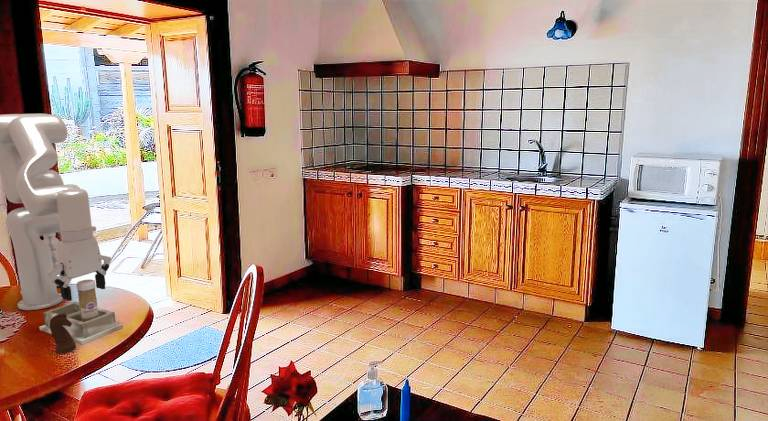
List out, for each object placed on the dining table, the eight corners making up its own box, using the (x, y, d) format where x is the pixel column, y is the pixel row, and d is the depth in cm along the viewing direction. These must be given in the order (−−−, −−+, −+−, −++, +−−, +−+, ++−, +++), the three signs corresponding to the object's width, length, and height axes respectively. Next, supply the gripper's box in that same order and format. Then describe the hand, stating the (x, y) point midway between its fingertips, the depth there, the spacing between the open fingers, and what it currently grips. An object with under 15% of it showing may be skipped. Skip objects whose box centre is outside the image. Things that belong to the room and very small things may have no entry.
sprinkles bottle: (88, 331, 149) (82, 285, 146) (78, 328, 151) (72, 282, 148) (103, 325, 153) (98, 280, 150) (93, 322, 155) (88, 277, 152)
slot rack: (39, 330, 154) (37, 313, 153) (80, 315, 164) (78, 299, 163) (82, 344, 144) (79, 327, 143) (122, 327, 154) (120, 311, 153)
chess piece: (75, 351, 140) (70, 315, 138) (52, 355, 138) (47, 319, 136) (76, 344, 144) (71, 309, 142) (54, 348, 142) (49, 312, 140)
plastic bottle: (58, 289, 186) (50, 233, 182) (41, 288, 188) (32, 232, 184) (72, 283, 193) (64, 229, 188) (56, 282, 194) (48, 228, 190)
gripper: (98, 225, 155) (105, 282, 159) (36, 240, 141) (45, 301, 144) (115, 229, 152) (121, 286, 156) (52, 244, 137) (61, 307, 141)
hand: (84, 293), depth 150 cm, fingers open, 9 cm apart
